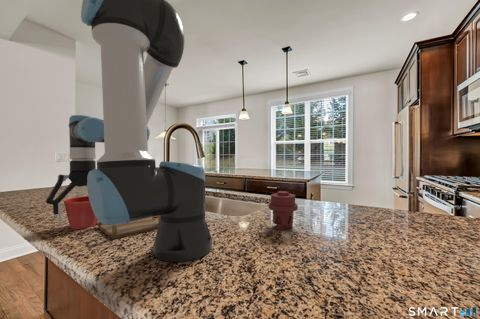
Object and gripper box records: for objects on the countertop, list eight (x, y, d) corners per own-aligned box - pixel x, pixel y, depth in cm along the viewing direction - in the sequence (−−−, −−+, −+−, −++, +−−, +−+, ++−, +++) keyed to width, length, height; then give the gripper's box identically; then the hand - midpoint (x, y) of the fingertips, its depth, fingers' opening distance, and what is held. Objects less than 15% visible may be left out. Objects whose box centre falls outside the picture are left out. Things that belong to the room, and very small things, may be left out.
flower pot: (88, 230, 74) (88, 201, 74) (56, 230, 74) (55, 201, 74) (108, 221, 85) (107, 196, 85) (79, 221, 85) (79, 195, 85)
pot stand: (163, 227, 78) (163, 209, 78) (112, 239, 66) (112, 218, 66) (144, 218, 89) (144, 202, 89) (98, 227, 78) (98, 209, 77)
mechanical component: (268, 222, 83) (295, 223, 82) (268, 231, 73) (299, 232, 72) (268, 189, 83) (295, 189, 82) (268, 194, 73) (300, 194, 72)
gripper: (117, 159, 91) (118, 211, 91) (34, 160, 73) (35, 224, 73) (124, 159, 85) (124, 214, 86) (36, 160, 67) (37, 230, 68)
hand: (83, 219), depth 79 cm, fingers open, 13 cm apart
